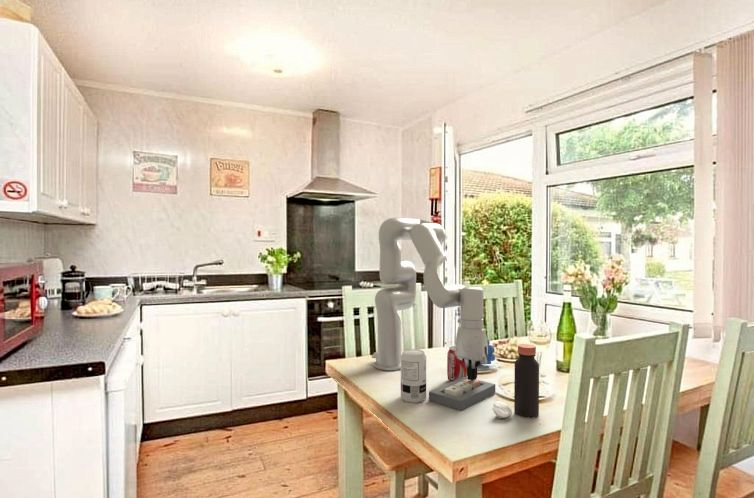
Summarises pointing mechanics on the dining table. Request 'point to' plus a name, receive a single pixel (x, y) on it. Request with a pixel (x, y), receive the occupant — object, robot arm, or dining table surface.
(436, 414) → the dining table surface
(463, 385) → the key
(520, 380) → the bottle
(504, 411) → the dumpling
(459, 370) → the soda can
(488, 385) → the keypad
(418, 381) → the supplement can
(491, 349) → the grapes
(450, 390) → the key
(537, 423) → the dining table surface
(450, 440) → the dining table surface
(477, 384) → the key
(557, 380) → the dining table surface
